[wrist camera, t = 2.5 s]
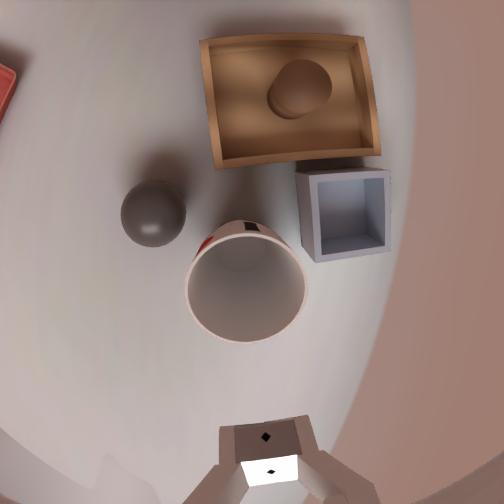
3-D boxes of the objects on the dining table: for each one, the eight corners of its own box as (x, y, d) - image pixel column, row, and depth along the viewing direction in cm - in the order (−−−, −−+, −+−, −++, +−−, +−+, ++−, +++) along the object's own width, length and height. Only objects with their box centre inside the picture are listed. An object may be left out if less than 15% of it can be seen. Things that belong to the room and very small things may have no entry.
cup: (260, 191, 27) (277, 210, 18) (295, 264, 30) (324, 314, 20) (183, 230, 28) (161, 268, 18) (223, 298, 30) (222, 359, 21)
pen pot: (295, 172, 27) (308, 175, 22) (364, 166, 27) (389, 170, 22) (301, 245, 29) (315, 263, 25) (367, 236, 29) (390, 251, 25)
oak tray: (202, 53, 23) (199, 40, 19) (349, 47, 23) (363, 37, 20) (216, 168, 26) (215, 170, 23) (364, 154, 27) (381, 155, 24)
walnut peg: (264, 79, 23) (273, 59, 18) (307, 77, 23) (327, 59, 18) (269, 121, 25) (281, 111, 19) (313, 118, 25) (335, 109, 19)
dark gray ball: (127, 184, 26) (104, 191, 21) (185, 172, 26) (173, 177, 21) (138, 241, 28) (119, 260, 23) (194, 232, 28) (186, 251, 23)
